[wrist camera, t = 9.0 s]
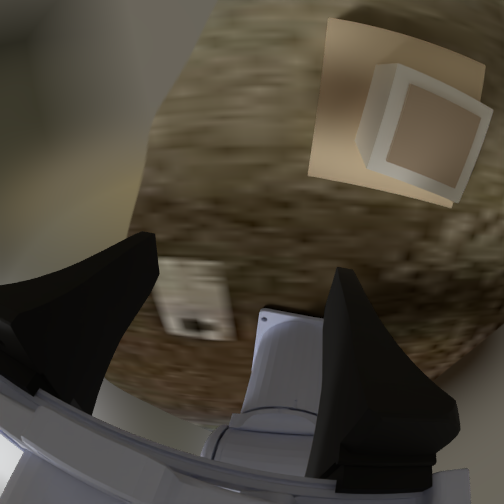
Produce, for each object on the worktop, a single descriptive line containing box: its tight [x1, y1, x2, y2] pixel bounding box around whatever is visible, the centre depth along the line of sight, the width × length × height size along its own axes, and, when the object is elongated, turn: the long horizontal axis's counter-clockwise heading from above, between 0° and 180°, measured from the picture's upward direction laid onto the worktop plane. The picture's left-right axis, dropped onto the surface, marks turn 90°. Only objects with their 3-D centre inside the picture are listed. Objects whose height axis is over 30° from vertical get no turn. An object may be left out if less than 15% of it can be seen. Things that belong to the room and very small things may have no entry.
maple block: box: [308, 17, 486, 208], centre depth 15 cm, size 9×9×3 cm
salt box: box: [355, 63, 493, 203], centre depth 12 cm, size 4×4×5 cm
